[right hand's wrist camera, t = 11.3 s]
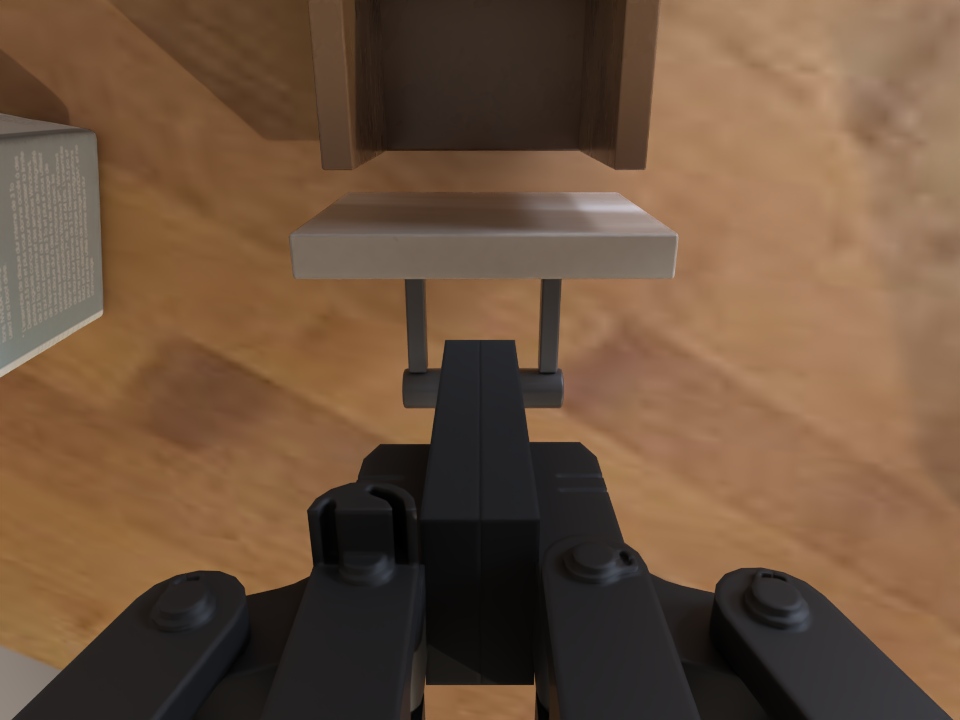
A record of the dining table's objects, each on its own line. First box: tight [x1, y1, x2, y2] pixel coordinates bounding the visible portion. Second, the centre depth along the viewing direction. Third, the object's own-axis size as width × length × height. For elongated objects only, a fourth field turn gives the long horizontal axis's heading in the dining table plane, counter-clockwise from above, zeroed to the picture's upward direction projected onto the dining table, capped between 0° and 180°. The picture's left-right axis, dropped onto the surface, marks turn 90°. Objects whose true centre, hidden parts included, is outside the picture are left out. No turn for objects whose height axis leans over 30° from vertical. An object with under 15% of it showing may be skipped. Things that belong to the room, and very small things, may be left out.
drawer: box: [289, 0, 679, 408], centre depth 18 cm, size 24×10×8 cm, turn 0°
